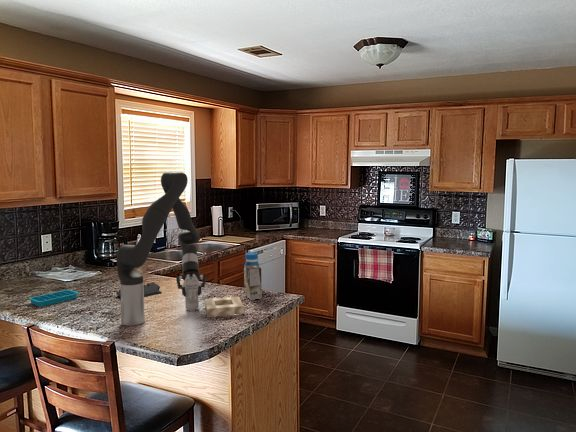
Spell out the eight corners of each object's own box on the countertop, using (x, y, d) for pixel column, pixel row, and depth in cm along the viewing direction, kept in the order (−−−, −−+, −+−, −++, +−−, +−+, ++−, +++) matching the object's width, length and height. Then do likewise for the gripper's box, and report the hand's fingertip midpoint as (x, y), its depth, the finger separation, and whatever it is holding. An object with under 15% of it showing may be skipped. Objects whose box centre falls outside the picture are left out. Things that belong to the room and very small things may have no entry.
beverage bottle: (257, 292, 239) (257, 255, 237) (242, 291, 241) (241, 254, 239) (261, 288, 248) (261, 252, 246) (246, 287, 249) (246, 251, 247)
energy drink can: (199, 307, 212) (199, 276, 211) (197, 311, 206) (196, 279, 205) (186, 307, 212) (186, 276, 211) (184, 311, 206) (183, 279, 205)
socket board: (207, 317, 197) (207, 308, 197) (204, 307, 213) (204, 299, 212) (243, 314, 201) (243, 306, 201) (238, 304, 217) (238, 296, 216)
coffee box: (262, 299, 225) (261, 268, 224) (249, 300, 223) (249, 269, 221) (256, 294, 234) (256, 264, 232) (245, 296, 232) (244, 265, 230)
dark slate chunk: (112, 296, 234) (111, 287, 234) (151, 288, 250) (150, 280, 249) (125, 302, 223) (125, 292, 223) (165, 293, 239) (165, 284, 239)
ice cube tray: (80, 298, 229) (79, 292, 229) (39, 308, 213) (39, 302, 213) (68, 295, 236) (68, 289, 236) (27, 304, 220) (27, 298, 220)
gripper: (174, 261, 213) (175, 292, 202) (205, 259, 216) (208, 290, 206) (175, 269, 218) (176, 300, 208) (205, 268, 222) (207, 298, 211)
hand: (192, 295), depth 207 cm, fingers closed on energy drink can, 6 cm apart
